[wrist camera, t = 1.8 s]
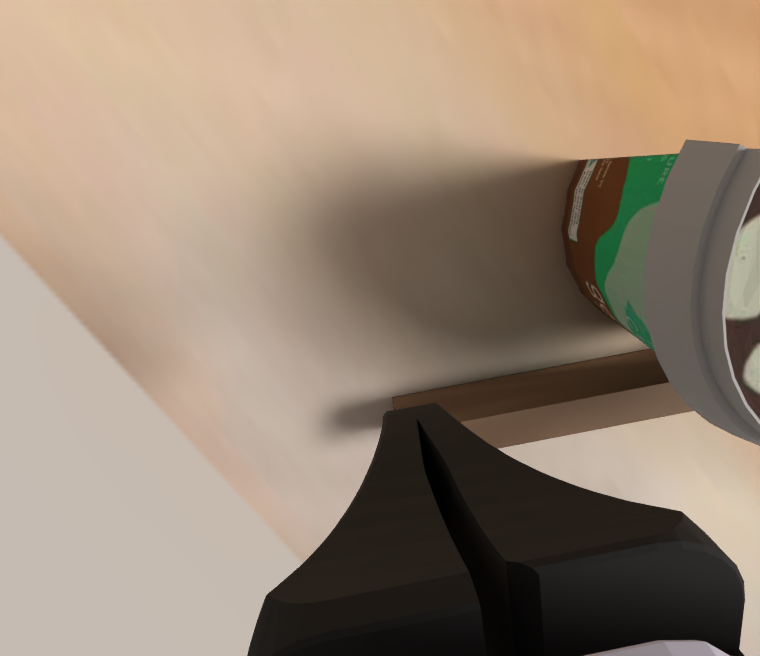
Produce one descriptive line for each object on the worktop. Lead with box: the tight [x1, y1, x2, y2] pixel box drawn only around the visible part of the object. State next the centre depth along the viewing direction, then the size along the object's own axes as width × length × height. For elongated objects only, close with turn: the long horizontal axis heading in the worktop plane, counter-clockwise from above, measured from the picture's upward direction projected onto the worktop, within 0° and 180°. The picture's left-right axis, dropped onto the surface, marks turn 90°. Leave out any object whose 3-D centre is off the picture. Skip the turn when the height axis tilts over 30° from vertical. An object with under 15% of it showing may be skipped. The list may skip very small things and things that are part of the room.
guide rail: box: [392, 349, 694, 449], centre depth 20 cm, size 10×26×3 cm, turn 99°
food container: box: [562, 140, 760, 446], centre depth 17 cm, size 12×6×10 cm, turn 66°
